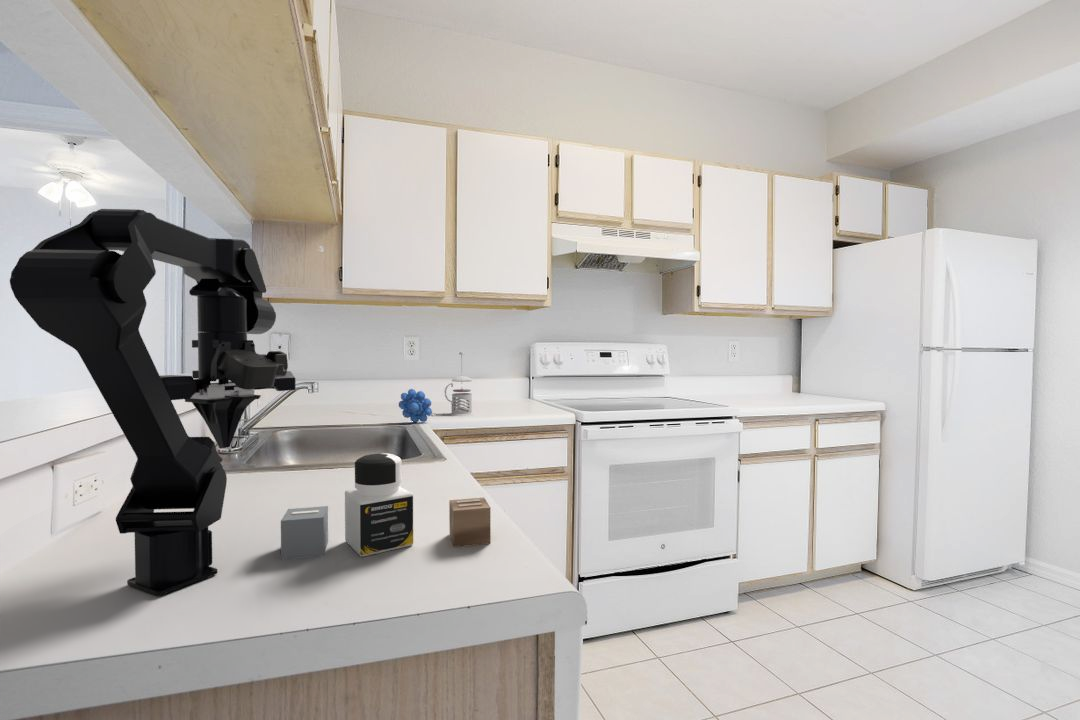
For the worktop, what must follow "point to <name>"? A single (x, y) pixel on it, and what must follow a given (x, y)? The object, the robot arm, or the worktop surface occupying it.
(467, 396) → the french press
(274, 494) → the worktop surface
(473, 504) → the walnut block two
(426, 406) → the blue knobby cluster
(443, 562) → the worktop surface
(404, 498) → the medicine bottle
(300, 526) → the slate block one
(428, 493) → the worktop surface
